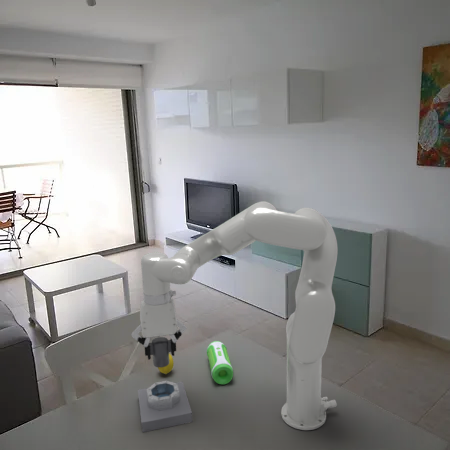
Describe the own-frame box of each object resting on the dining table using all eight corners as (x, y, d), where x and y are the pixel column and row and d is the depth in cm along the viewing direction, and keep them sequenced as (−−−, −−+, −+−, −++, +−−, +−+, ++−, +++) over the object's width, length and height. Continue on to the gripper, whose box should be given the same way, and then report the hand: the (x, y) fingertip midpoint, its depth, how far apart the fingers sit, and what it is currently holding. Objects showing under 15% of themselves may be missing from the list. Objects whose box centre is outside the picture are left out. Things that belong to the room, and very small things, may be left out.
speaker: (206, 359, 154) (205, 340, 152) (226, 357, 155) (225, 338, 153) (212, 387, 137) (211, 366, 135) (234, 384, 138) (234, 363, 136)
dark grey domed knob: (171, 357, 126) (169, 335, 125) (173, 365, 122) (171, 343, 120) (149, 360, 125) (148, 338, 123) (151, 369, 120) (149, 346, 119)
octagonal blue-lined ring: (176, 389, 131) (175, 379, 130) (181, 406, 123) (180, 396, 122) (146, 394, 129) (146, 384, 128) (149, 413, 120) (148, 402, 120)
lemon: (175, 369, 148) (174, 348, 146) (172, 378, 142) (170, 357, 140) (160, 369, 148) (158, 348, 146) (156, 378, 143) (154, 356, 141)
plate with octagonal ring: (183, 389, 136) (182, 381, 135) (192, 422, 121) (191, 412, 120) (138, 398, 132) (137, 389, 132) (142, 432, 117) (141, 422, 116)
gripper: (185, 288, 124) (188, 344, 128) (125, 295, 120) (129, 353, 124) (190, 298, 117) (192, 357, 121) (126, 306, 113) (131, 367, 117)
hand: (160, 354), depth 123 cm, fingers closed on dark grey domed knob, 6 cm apart
